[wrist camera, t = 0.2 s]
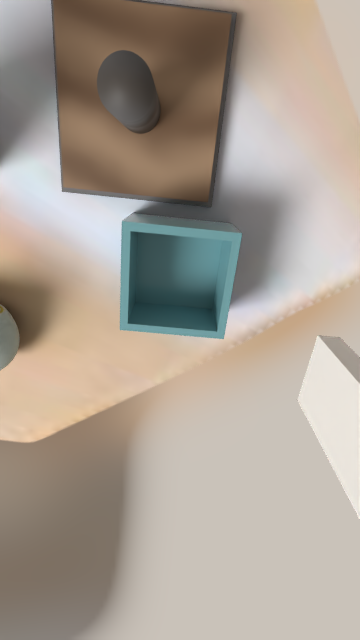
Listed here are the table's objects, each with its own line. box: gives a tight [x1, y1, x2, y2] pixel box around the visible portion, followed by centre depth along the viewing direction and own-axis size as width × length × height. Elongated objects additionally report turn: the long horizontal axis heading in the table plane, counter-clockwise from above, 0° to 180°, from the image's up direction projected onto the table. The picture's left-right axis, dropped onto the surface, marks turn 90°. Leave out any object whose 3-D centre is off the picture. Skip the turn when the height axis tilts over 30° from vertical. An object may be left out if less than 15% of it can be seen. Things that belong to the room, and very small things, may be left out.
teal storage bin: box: [120, 213, 242, 339], centre depth 34 cm, size 11×11×7 cm
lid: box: [53, 0, 232, 202], centre depth 26 cm, size 15×15×9 cm
